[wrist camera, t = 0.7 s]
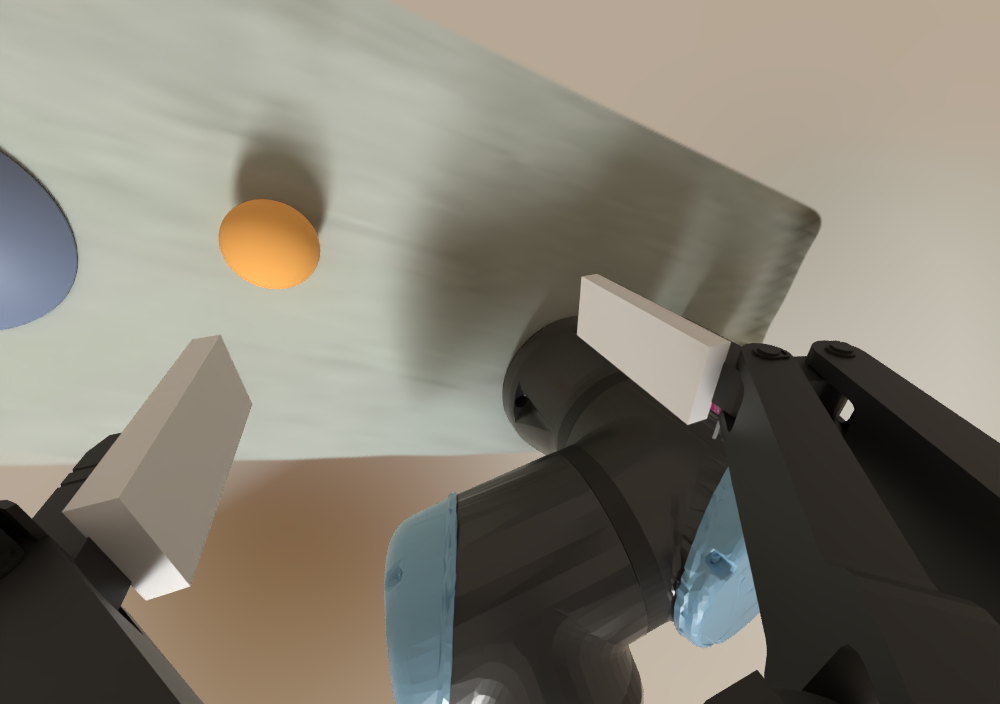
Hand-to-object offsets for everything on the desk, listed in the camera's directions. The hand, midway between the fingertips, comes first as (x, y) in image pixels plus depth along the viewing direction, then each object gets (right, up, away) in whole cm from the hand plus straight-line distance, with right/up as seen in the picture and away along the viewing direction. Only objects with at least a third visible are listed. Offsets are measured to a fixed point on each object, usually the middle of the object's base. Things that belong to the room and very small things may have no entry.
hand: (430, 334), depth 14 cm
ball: (-12, +6, +10) cm, 17 cm away
